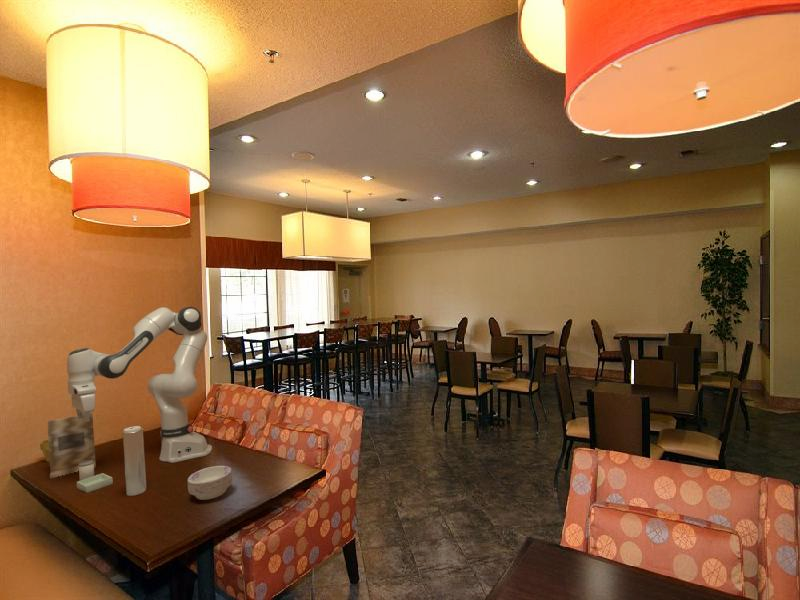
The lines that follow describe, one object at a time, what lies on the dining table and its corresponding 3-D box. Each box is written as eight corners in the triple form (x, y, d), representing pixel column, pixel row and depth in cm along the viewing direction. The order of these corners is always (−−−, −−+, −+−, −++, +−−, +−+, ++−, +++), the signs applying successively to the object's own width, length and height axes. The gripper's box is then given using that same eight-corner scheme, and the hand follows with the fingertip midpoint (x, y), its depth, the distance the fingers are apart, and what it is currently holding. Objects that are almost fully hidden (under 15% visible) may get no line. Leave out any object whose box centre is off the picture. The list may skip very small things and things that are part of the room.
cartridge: (96, 475, 180) (95, 459, 179) (91, 480, 175) (90, 463, 175) (82, 477, 178) (81, 461, 178) (77, 482, 173) (76, 465, 173)
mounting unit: (95, 461, 196) (92, 412, 196) (95, 467, 188) (92, 416, 188) (51, 471, 186) (48, 419, 186) (49, 478, 178) (46, 424, 178)
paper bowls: (187, 492, 159) (186, 471, 159) (230, 481, 167) (229, 461, 167) (189, 508, 146) (188, 486, 146) (235, 496, 153) (234, 475, 153)
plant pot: (42, 459, 202) (41, 439, 202) (69, 454, 208) (68, 434, 208) (40, 466, 193) (38, 445, 193) (68, 460, 200) (67, 439, 200)
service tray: (103, 479, 175) (102, 473, 175) (112, 483, 170) (112, 477, 170) (77, 488, 168) (76, 481, 167) (86, 493, 162) (86, 486, 162)
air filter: (136, 496, 158) (132, 430, 157) (122, 495, 159) (118, 430, 159) (150, 488, 164) (146, 425, 164) (136, 487, 165) (132, 425, 165)
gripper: (66, 386, 180) (68, 418, 180) (78, 391, 167) (80, 425, 167) (84, 383, 185) (85, 414, 185) (97, 388, 172) (99, 421, 172)
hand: (83, 419), depth 176 cm, fingers open, 8 cm apart
